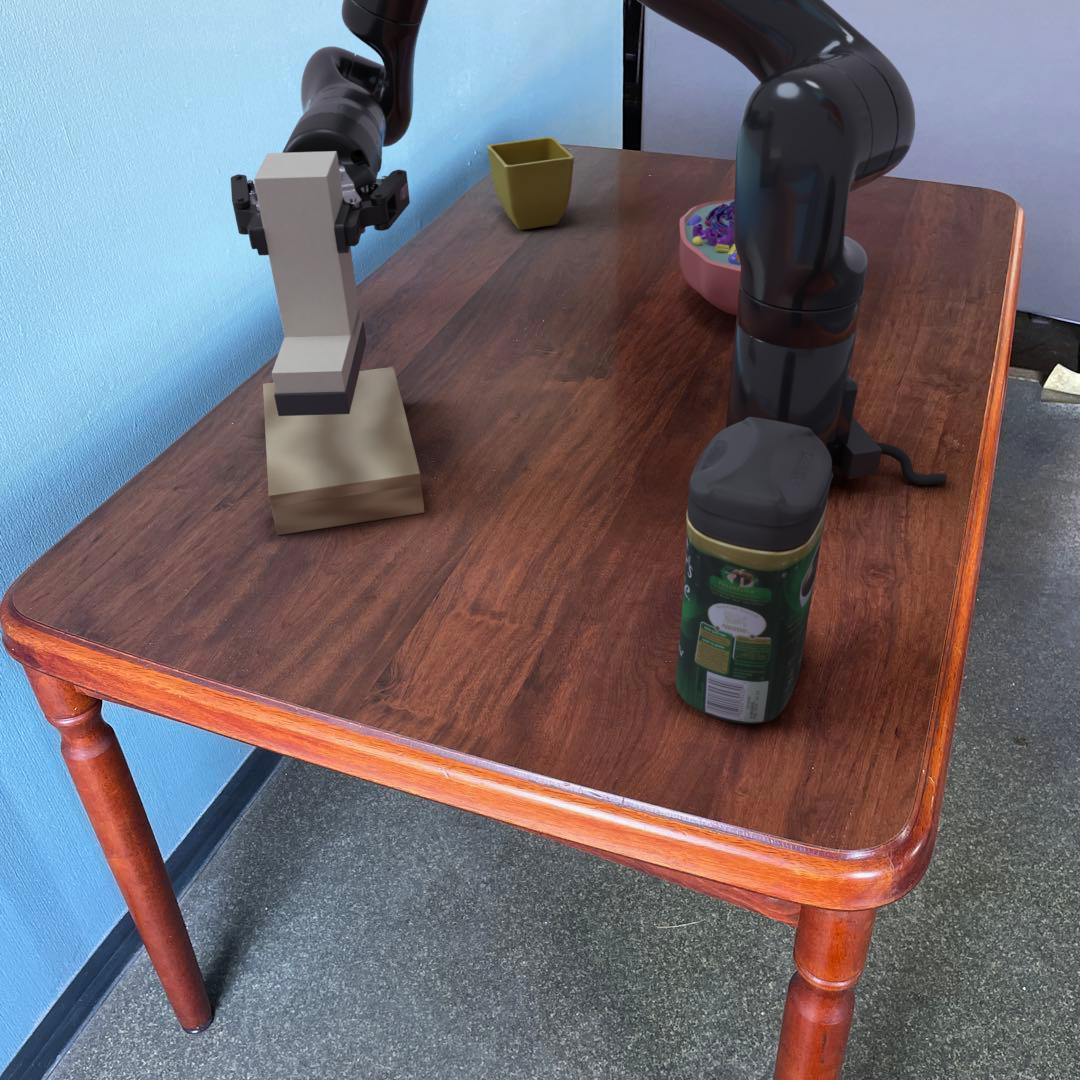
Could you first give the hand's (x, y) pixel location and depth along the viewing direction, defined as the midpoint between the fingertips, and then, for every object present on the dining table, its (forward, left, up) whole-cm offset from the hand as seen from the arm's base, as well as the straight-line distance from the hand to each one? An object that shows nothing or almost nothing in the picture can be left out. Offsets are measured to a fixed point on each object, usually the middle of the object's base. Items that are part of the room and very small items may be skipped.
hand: (301, 241), depth 76 cm
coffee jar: (-24, +27, -23) cm, 43 cm away
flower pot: (-28, -55, -23) cm, 66 cm away
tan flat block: (0, -6, -23) cm, 24 cm away
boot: (0, 0, -11) cm, 11 cm away
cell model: (-46, -26, -23) cm, 58 cm away
